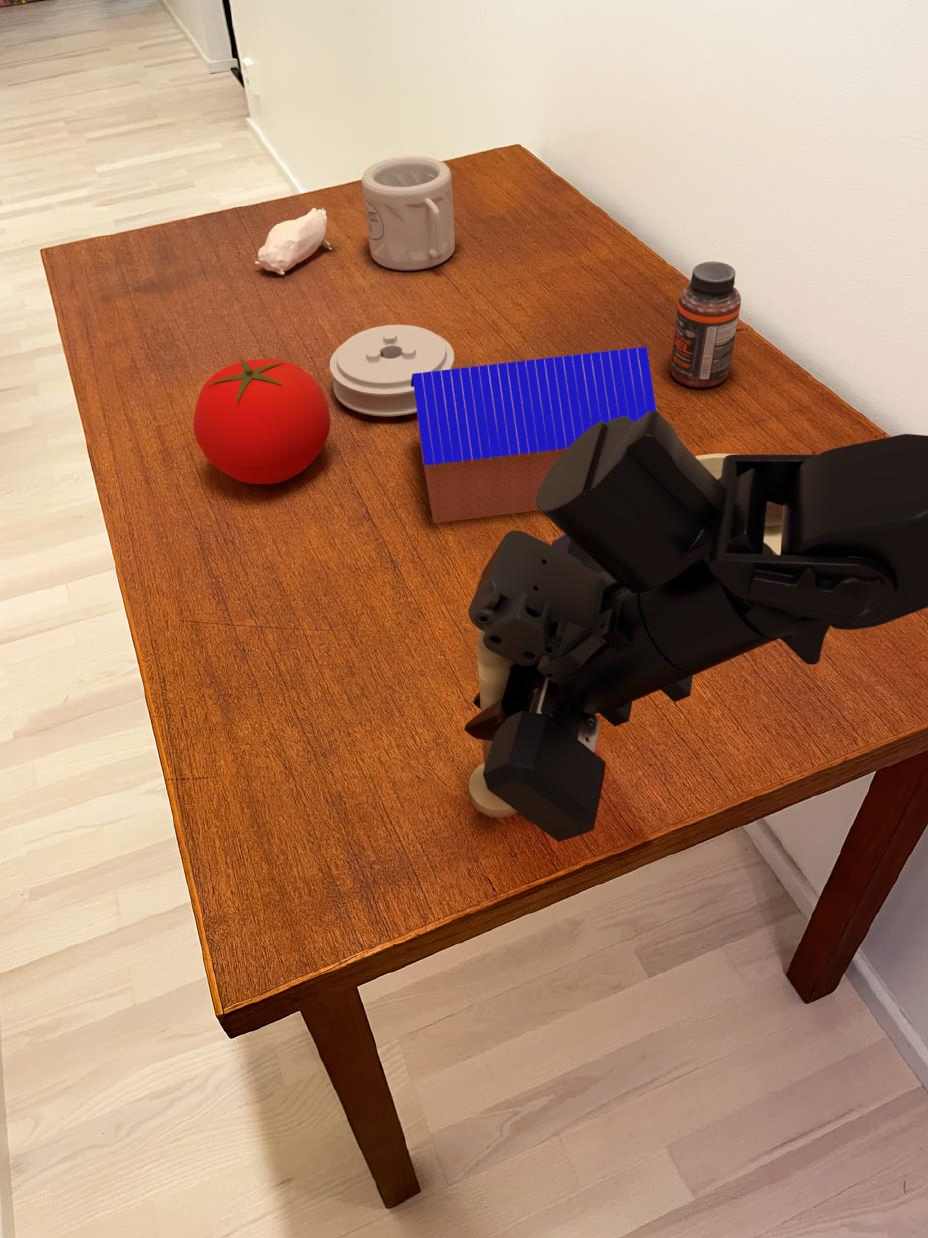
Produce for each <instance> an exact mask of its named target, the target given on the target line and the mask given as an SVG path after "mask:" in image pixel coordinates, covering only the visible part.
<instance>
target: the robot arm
mask: <svg viewBox="0 0 928 1238" xmlns="http://www.w3.org/2000/svg"><path fill="white" fill-rule="evenodd" d="M695 456H696V455H694V454H693V453H692V452H691V451H690V450H689V449H688V447H687V446H686V445H685V444H684V443H683V442H682V440H681V439H680V437H679V435H678V433H677V432H676V430H675V428H674V427H673V426H672V425H671V424H670V423H669V422H668V421H667V419H666V418H665V417H663V415H662V414H661V413H660V412H659V411H658V410H656V411H650V412H648V413H647V414H645V415H644V416H642V417H641V418H640V419H638V420H637V421H635V422H634V421H632V420H631V419H630V418H629V417H623V416H622V417H618V418H614V419H612V420H610V421H608V422H606V423H604V422H603V421H599V422H598V423H596V424H595V425H593V426H592V427H591V428H589V429H588V430H587V431H586V432H584V433H583V434H582V435H580V436H579V437H578V438H577V439H576V440H575V441H574V442H573V443H572V444H571V445H570V446H569V447H568V448H567V449H566V450H565V451H564V452H563V453H562V454H561V456H560V457H559V458H558V459H557V461H556V462H555V463H554V464H553V466H552V467H551V468H550V470H549V471H548V473H547V475H546V476H545V478H544V479H543V481H542V483H541V485H540V487H539V490H538V493H537V497H536V505H537V508H538V509H539V510H538V511H540V512H541V513H542V514H543V515H544V516H545V517H547V519H548V520H550V521H551V522H552V523H553V524H554V525H555V526H556V527H557V528H558V529H560V530H561V532H563V533H564V534H563V535H561V536H559V537H558V538H556V539H555V540H553V541H552V543H551V544H549V543H547V542H546V541H544V540H542V539H539V538H537V537H535V536H533V535H531V534H528V533H527V532H524V531H522V530H517V529H515V530H510V531H508V532H506V534H505V535H504V536H503V537H502V539H501V540H500V542H499V544H498V545H497V547H496V549H495V551H494V552H493V554H492V555H491V557H490V559H489V560H488V562H487V563H486V565H485V567H484V568H483V569H482V572H481V574H480V579H479V582H478V584H477V587H476V590H475V593H474V595H473V598H472V600H471V602H470V605H469V607H468V618H469V620H470V622H471V623H472V624H473V626H475V628H478V630H480V629H481V630H482V631H484V632H485V634H484V637H483V643H484V645H485V647H486V648H487V649H488V650H490V651H492V652H494V653H496V654H498V655H500V656H502V657H504V658H506V659H509V660H510V672H509V675H508V679H507V682H506V685H505V689H504V692H503V695H502V698H501V700H500V701H498V702H496V703H495V704H493V705H492V706H490V707H489V708H487V709H486V710H484V711H483V712H481V711H480V712H479V713H478V714H476V715H475V716H474V717H472V718H471V719H470V720H468V722H466V723H465V724H464V729H463V730H464V731H465V732H466V733H467V734H469V735H470V736H471V737H472V738H474V739H475V740H482V741H483V740H487V741H492V745H491V748H490V751H489V755H488V758H487V761H486V765H485V768H484V771H483V777H484V780H485V782H486V785H487V788H488V790H489V791H491V792H492V793H493V794H495V795H496V796H497V797H499V798H500V799H501V800H503V801H504V802H505V803H507V804H508V805H509V806H511V807H512V808H513V809H515V810H516V811H517V813H518V814H520V815H521V816H522V817H524V818H525V819H527V820H528V821H529V822H530V823H531V824H533V825H534V826H536V827H537V828H538V829H540V830H541V831H543V832H544V834H546V835H548V836H549V837H550V838H552V839H553V840H554V841H556V842H557V843H560V842H564V841H567V840H570V839H573V838H576V837H579V836H583V835H585V834H588V833H590V832H593V831H594V830H595V827H596V821H597V817H598V811H599V806H600V801H601V797H602V791H603V786H604V780H605V774H606V763H607V762H606V761H605V759H603V758H601V757H600V756H599V755H598V754H597V753H596V749H597V745H598V740H599V735H600V730H601V722H600V719H599V717H598V716H597V714H599V715H600V716H601V717H602V718H604V719H605V720H606V721H607V722H608V723H610V724H611V725H612V726H613V727H614V728H616V727H618V726H621V725H623V724H625V723H628V722H630V718H631V712H632V707H633V702H635V701H638V700H640V699H643V698H644V697H647V696H649V695H651V694H653V693H656V692H658V691H661V692H663V694H665V695H666V696H667V697H668V698H669V699H670V700H671V701H673V702H674V703H676V702H679V701H682V700H684V699H686V698H689V697H691V694H692V687H693V686H692V685H693V680H694V679H693V678H694V676H696V675H699V674H700V673H702V672H704V671H707V670H710V669H711V668H713V667H716V666H718V665H721V664H723V663H726V662H727V661H728V662H729V661H731V660H733V659H735V658H737V657H739V656H742V655H745V654H747V653H749V652H751V651H753V650H756V649H759V648H761V647H762V646H765V645H768V644H769V643H772V642H774V641H776V640H781V641H782V642H783V643H784V644H786V645H787V646H788V648H789V649H791V650H792V651H793V652H794V653H795V654H796V656H798V657H799V658H800V659H801V661H803V662H804V663H805V664H807V665H810V666H811V665H812V666H814V665H817V664H818V663H820V661H821V655H822V649H823V645H824V642H825V641H824V640H825V638H826V635H827V633H828V631H829V629H830V628H833V629H836V630H847V631H849V630H850V631H854V630H861V629H862V630H863V629H869V628H870V629H871V628H875V627H878V626H882V625H885V624H888V623H891V622H893V621H895V620H899V619H901V618H904V617H906V616H909V615H911V614H915V613H917V612H920V611H923V610H925V609H928V435H926V434H925V435H923V434H915V433H914V434H913V433H901V434H898V435H891V436H887V437H882V438H878V439H874V440H869V441H868V440H867V441H863V442H859V443H858V442H857V443H854V444H849V445H843V446H839V447H835V448H831V449H828V450H824V451H822V452H819V453H818V454H740V455H728V456H726V457H725V458H724V460H723V466H722V474H721V477H720V478H719V479H716V478H715V477H714V476H713V475H712V474H711V473H710V472H709V471H708V470H707V469H706V468H705V467H704V465H703V464H702V463H701V462H700V461H699V460H698V459H697V458H696V457H695ZM767 501H768V502H771V503H775V504H778V505H782V506H783V521H782V537H781V552H780V555H777V554H776V553H775V552H774V551H773V550H772V549H771V548H770V547H769V546H768V545H767V544H766V543H765V542H764V533H765V521H766V508H767ZM473 705H474V706H475V707H476V708H478V709H479V710H481V705H480V691H479V692H478V693H477V694H476V695H475V696H474V698H473Z"/></svg>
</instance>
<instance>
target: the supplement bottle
mask: <svg viewBox="0 0 928 1238" xmlns="http://www.w3.org/2000/svg"><path fill="white" fill-rule="evenodd" d="M735 279H736V270H735V268H734V267H733V266H732V265H730V264H728V263H725V262H721V261H705V262H701V263H699V264H697V265H696V266H694V267H693V269H692V273H691V278H690V283H689V284H688V285H686V286H685V287H683V289H682V290H681V292H680V294H679V297H678V303H677V310H676V317H675V318H676V319H675V326H674V334H673V341H672V347H671V348H672V349H671V358H670V368H669V369H670V370H669V371H670V373H671V376H672V377H673V378H674V379H675V380H676V381H677V382H679V383H680V384H682V385H685V386H686V387H692V388H701V389H703V388H704V389H705V388H711V387H715V386H718V385H720V384H721V383H723V382H725V380H726V379H727V378H728V375H729V370H730V367H731V361H732V356H733V350H734V345H735V339H736V334H737V328H738V324H739V323H738V322H739V316H740V310H741V306H742V305H741V304H742V298H741V294H740V292H739V290H738V289H737V288H736V287H734V286H735V283H736V281H735Z"/></svg>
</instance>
